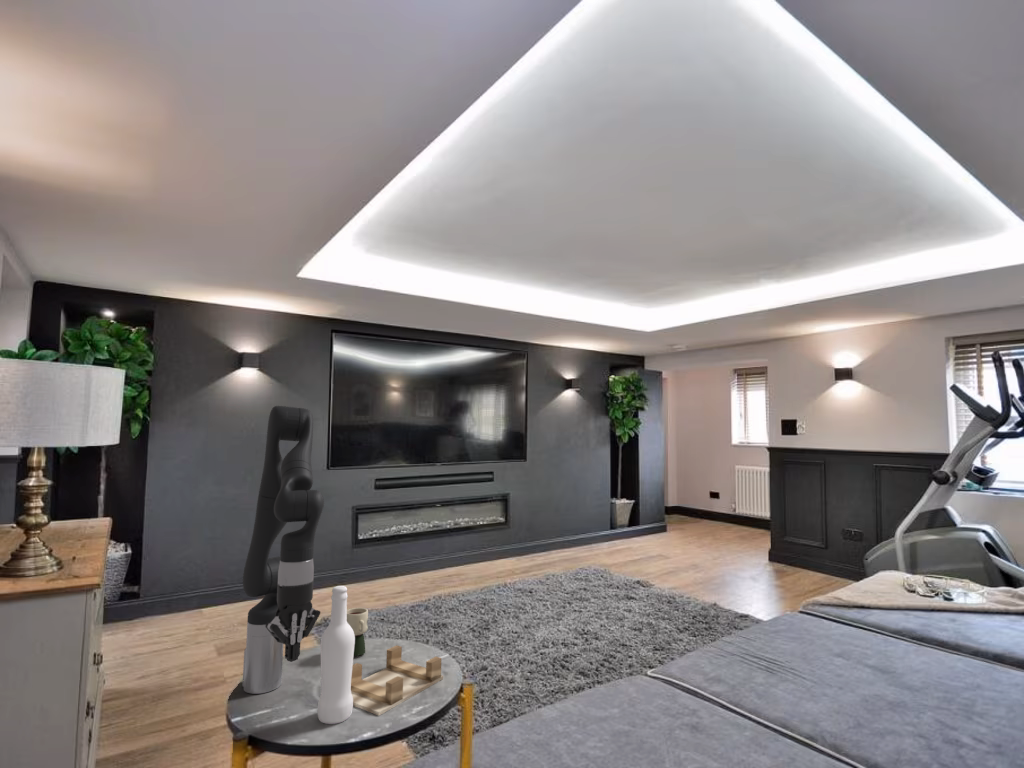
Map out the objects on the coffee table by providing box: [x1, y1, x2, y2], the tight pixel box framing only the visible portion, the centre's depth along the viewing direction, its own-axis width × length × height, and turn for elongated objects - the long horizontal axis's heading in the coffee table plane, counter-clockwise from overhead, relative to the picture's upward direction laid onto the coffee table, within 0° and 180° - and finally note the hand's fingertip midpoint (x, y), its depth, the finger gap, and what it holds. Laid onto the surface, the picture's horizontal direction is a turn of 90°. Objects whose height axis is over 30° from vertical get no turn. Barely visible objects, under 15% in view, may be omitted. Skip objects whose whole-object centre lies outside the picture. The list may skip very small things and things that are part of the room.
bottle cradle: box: [351, 645, 444, 717], centre depth 143 cm, size 17×24×6 cm
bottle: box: [316, 585, 355, 725], centre depth 129 cm, size 8×8×30 cm
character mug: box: [347, 607, 369, 658], centre depth 165 cm, size 11×7×13 cm, turn 39°
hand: (292, 660), depth 119 cm, fingers closed
